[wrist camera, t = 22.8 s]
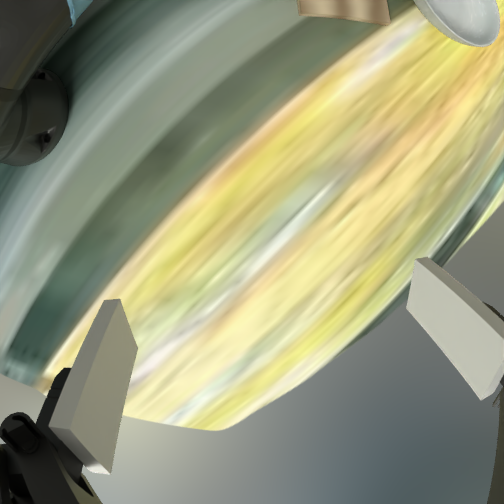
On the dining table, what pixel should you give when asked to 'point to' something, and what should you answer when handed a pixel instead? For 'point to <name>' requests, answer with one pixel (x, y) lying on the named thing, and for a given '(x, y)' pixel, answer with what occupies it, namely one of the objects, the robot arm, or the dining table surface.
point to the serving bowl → (463, 19)
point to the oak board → (347, 10)
